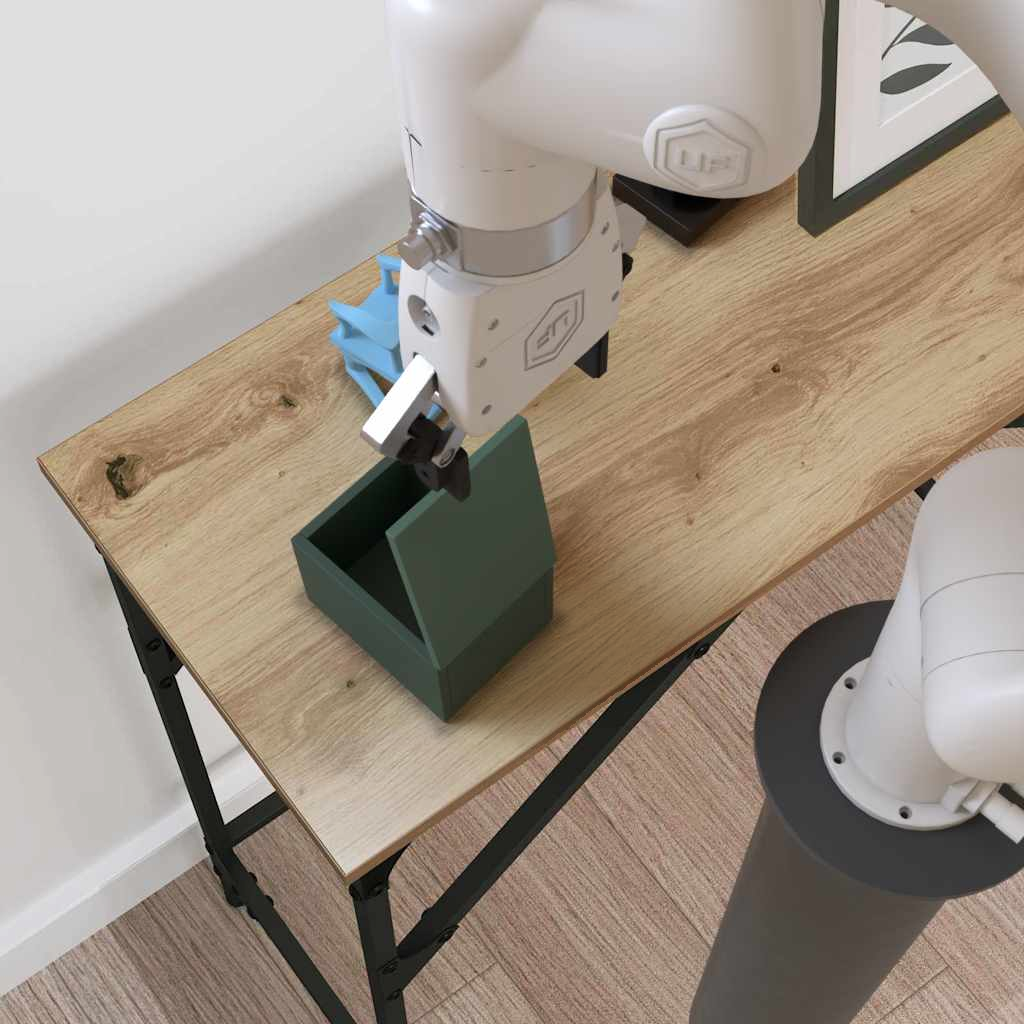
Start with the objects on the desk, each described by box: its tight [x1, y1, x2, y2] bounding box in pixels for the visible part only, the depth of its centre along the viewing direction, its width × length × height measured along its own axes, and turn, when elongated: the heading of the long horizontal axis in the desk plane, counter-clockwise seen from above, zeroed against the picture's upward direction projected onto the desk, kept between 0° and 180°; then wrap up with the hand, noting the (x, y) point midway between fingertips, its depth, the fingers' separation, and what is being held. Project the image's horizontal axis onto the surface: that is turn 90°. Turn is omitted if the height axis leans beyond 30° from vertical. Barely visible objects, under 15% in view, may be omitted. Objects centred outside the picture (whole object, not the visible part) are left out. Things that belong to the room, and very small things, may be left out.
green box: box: [290, 455, 554, 724], centre depth 108 cm, size 14×11×9 cm
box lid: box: [385, 413, 559, 671], centre depth 96 cm, size 14×11×1 cm
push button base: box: [611, 173, 745, 248], centre depth 128 cm, size 8×10×4 cm
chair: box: [328, 253, 444, 422], centre depth 116 cm, size 8×8×12 cm
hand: (512, 419), depth 79 cm, fingers open, 9 cm apart
